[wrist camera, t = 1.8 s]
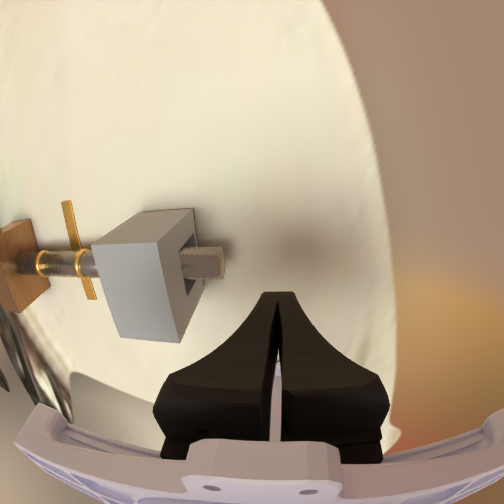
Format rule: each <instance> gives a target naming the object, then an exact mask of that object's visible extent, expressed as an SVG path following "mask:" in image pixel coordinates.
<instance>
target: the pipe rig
mask: <svg viewBox="0 0 504 504" xmlns="http://www.w3.org/2000/svg"><path fill="white" fill-rule="evenodd" d="M61 204H62V209H63V214H64V218H65V223H66V227H67V231H68V235H69V239H70V243H71V247H72V251H52V252H50V251H48V250H42V251H40V252H39V250H38V246H37V243H36V239H35V235H34V231H33V228H32V223H31V219H26V220H20V221H14V222H12V223H10V224H8V225H6V226H4V227H2V228H0V303H1V305H2V308H3V310H7V311H11V312H16V313H21V312H22V311H23V310H24V309H25V308H27V307H28V306H29V305H30V304H31V303H32V302H33V301H34V300H35V299H37V298H38V297H39V296H40V295H41V294H42V293H43V292H45V291H46V290H47V289H48V288H49V287H50V284H49V281H48V278H47V277H50V276H59V277H78V278H80V279H81V281H82V284H83V287H84V290H85V293H86V296H87V299H89V300H96V299H97V298H96V295H95V292H94V289H93V286H92V283H91V280H90V278H100V277H99V274H98V270H97V267H96V263H95V260H94V256H93V252H92V250H89V249H81V245H80V241H79V237H78V233H77V229H76V224H75V220H74V215H73V210H72V205H71V200H69V201H64V202H61ZM179 256H180V262H181V268H182V273H183V278H184V279H223V277H224V273H225V255H224V250H223V247H222V246H214V247H182V248H181V249H180V250H179Z"/></svg>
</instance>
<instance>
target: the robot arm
mask: <svg viewBox="0 0 504 504" xmlns="http://www.w3.org/2000/svg"><path fill="white" fill-rule="evenodd" d="M278 348H279V359H280V361H279V362H277V355H278ZM389 407H390V403H389V399H388V395H387V392H386V390H385V388H384V386H383V384H382V382H381V380H380V378H379V376H378V375H377V374H375V373H373V372H371V371H369V370H367V369H365V368H363V367H361V366H360V365H358V364H356V363H355V362H353V361H351V360H350V359H348V358H347V357H345V356H344V355H343V354H342V353H340V352H339V351H338V350H336V349H335V348H334V347H333V346H332V345H331V344H330V343H329V342H328V341H327V340H326V339H325V338H324V337H323V336H322V335H321V334H320V333H319V332H318V331H317V329H316V328H315V327H314V326H313V324H312V323H311V322H310V320H309V319H308V317H307V316H306V314H305V313H304V311H303V310H302V308H301V306H300V304H299V302H298V300H297V298H296V296H295V293H294V292H264V293H262V295H261V297H260V299H259V301H258V302H257V304H256V305H255V307H254V309H253V310H252V311H251V313H250V314H249V316H248V317H247V318H246V320H245V321H244V322H243V323H242V324H241V326H240V327H239V328H238V329H237V330H236V331H235V332H234V333H233V334H232V335H231V336H230V337H229V338H228V339H227V340H226V341H225V342H224V343H223V344H222V345H220V346H219V347H218V348H217V349H215V350H214V351H213V352H211V353H210V354H208V355H207V356H205V357H204V358H202V359H200V360H199V361H197V362H195V363H193V364H191V365H189V366H187V367H185V368H183V369H181V370H178V371H176V372H174V373H171V374H169V376H168V377H167V379H166V381H165V382H164V384H163V386H162V388H161V390H160V392H159V394H158V397H157V399H156V401H155V404H154V406H153V414H154V417H155V419H156V421H157V423H158V424H159V426H160V428H161V430H162V431H163V433H164V435H165V436H166V438H165V441H164V444H163V447H162V450H161V452H160V451H156V450H151V449H147V448H143V447H139V446H135V445H131V444H128V443H124V442H121V441H117V440H114V439H111V438H107V437H104V436H101V435H98V434H95V433H93V432H90V431H87V430H84V429H82V428H79V427H76V426H74V425H71V424H69V423H68V422H67V420H66V419H65V418H64V416H63V415H62V414H61V413H59V412H58V411H57V410H55V409H53V408H50V407H48V406H46V405H44V404H41V403H38V404H37V405H36V407H35V409H34V410H33V412H32V413H31V414H30V416H29V417H28V419H27V421H26V422H25V424H24V425H23V427H22V428H21V430H20V432H19V433H18V435H17V436H16V438H15V440H14V444H15V445H16V446H17V447H18V448H19V449H20V450H21V451H22V452H23V453H25V454H26V455H27V456H28V457H29V458H30V459H31V460H32V461H33V462H35V463H36V464H37V465H38V466H39V467H40V468H42V469H43V470H44V471H45V472H47V473H48V474H50V475H52V476H54V477H56V478H57V479H59V480H61V481H63V482H65V483H66V484H68V485H70V486H72V487H74V488H76V489H78V490H79V491H81V492H84V493H85V494H87V495H90V496H92V497H94V498H96V499H98V500H100V501H102V502H104V503H107V504H452V503H454V502H456V501H458V500H460V499H462V498H464V497H467V496H469V495H471V494H473V493H474V492H477V491H479V490H481V489H482V488H484V487H486V486H488V485H490V484H492V483H494V482H496V481H497V480H499V479H500V478H501V477H503V476H504V408H503V409H501V410H499V411H497V412H495V413H493V414H492V415H491V416H489V417H488V418H487V419H486V421H485V422H484V423H483V425H482V427H479V428H477V429H474V430H472V431H469V432H466V433H463V434H461V435H458V436H455V437H452V438H449V439H446V440H443V441H439V442H436V443H432V444H429V445H425V446H421V447H418V448H414V449H409V450H405V451H401V452H396V453H391V454H386V455H383V454H382V449H381V444H380V440H381V439H382V434H381V429H380V427H381V425H382V423H383V421H384V419H385V417H386V415H387V413H388V411H389Z"/></svg>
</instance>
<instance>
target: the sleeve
mask: <svg viewBox="0 0 504 504" xmlns="http://www.w3.org/2000/svg"><path fill="white" fill-rule="evenodd" d="M182 247H198V246H197V238H196V231H195V223H194V215H193V209H178V210H164V211H151V212H139V213H137V214H136V215H134V216H133V217H131V218H130V219H128V220H127V221H125V222H124V223H122V224H121V225H119V226H118V227H116V228H115V229H113V230H112V231H110V232H109V233H107V234H106V235H104V236H103V237H102V238H100V239H99V240H97V241H96V242H94V243H93V244H92V245H91V248H92V252H93V256H94V260H95V263H96V267H97V270H98V274H99V277H100V281H101V284H102V287H103V290H104V293H105V296H106V299H107V302H108V305H109V308H110V311H111V314H112V317H113V320H114V322H115V325H116V328H117V330H118V333H119V336H120V337H122V338H130V339H139V340H148V341H159V342H170V343H180V342H181V340H182V337H183V335H184V333H185V331H186V328H187V326H188V324H189V322H190V319H191V317H192V315H193V313H194V311H195V308H196V306H197V304H198V302H199V300H200V297H201V295H202V293H203V291H204V286H203V279H184V278H183V273H182V268H181V262H180V256H179V250H180V249H181V248H182Z"/></svg>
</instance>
